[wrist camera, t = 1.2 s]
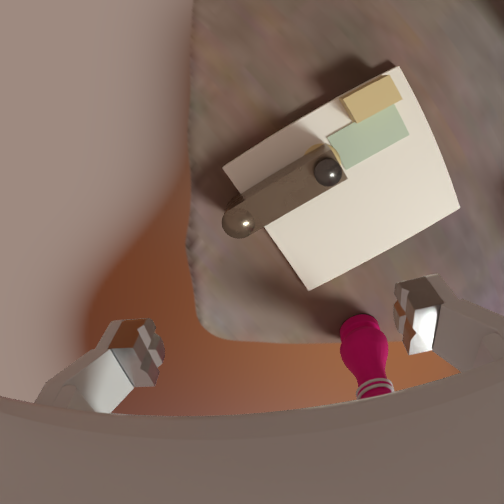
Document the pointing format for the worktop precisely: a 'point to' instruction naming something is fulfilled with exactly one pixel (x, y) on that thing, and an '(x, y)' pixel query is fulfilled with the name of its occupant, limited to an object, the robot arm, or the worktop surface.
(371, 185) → the latch board
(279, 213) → the bar
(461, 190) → the worktop surface
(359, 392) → the pepper mill
